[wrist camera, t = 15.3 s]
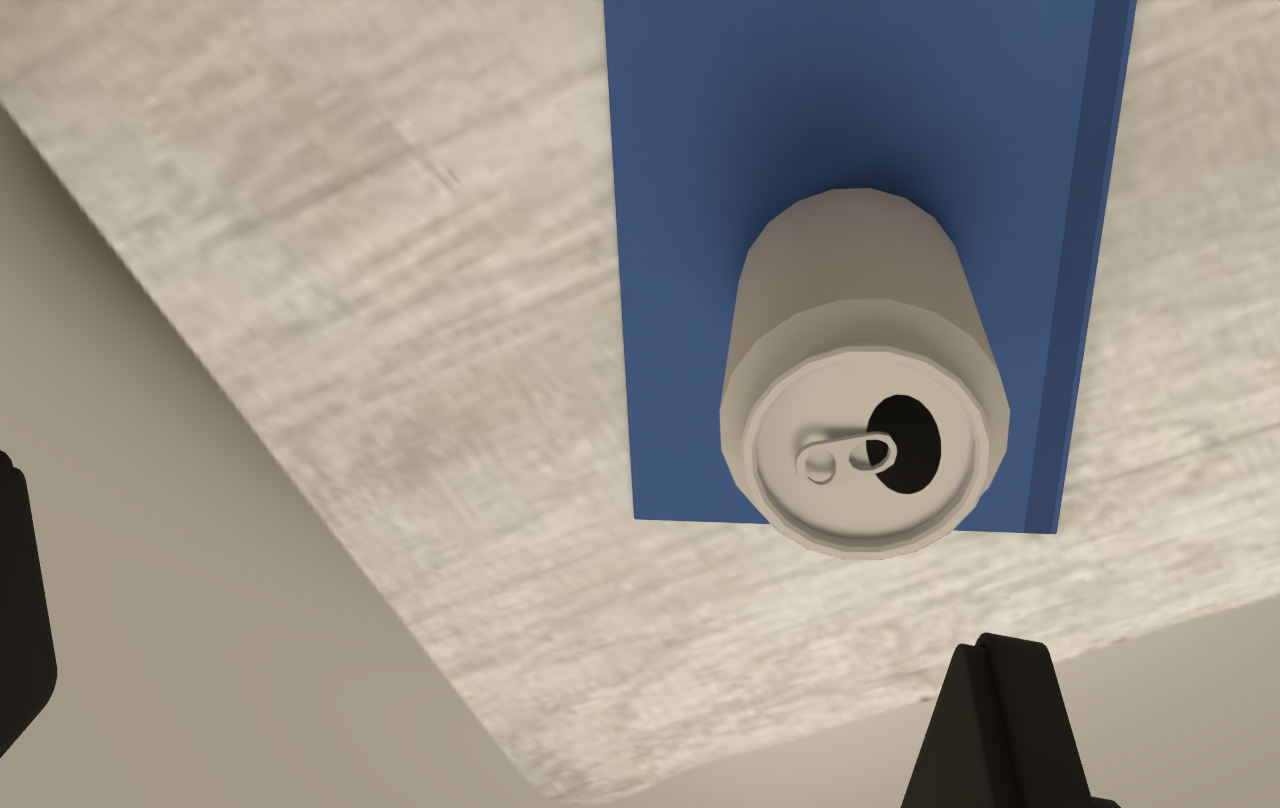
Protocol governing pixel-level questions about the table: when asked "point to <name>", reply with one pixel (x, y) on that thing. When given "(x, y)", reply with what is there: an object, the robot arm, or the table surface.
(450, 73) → the table surface
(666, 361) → the folder
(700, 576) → the table surface
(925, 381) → the can
